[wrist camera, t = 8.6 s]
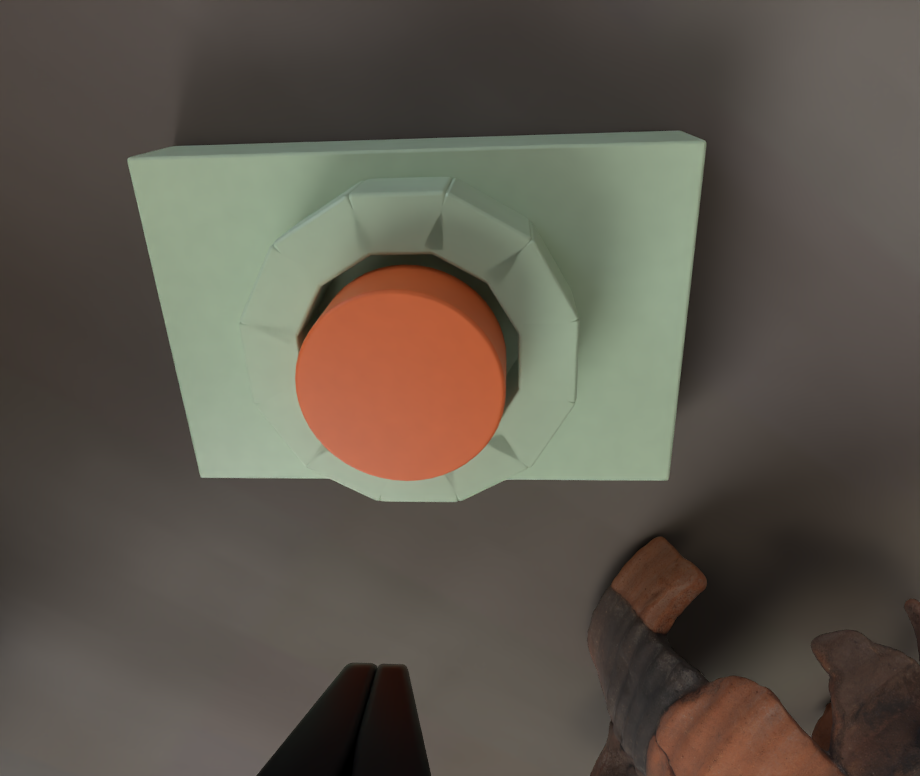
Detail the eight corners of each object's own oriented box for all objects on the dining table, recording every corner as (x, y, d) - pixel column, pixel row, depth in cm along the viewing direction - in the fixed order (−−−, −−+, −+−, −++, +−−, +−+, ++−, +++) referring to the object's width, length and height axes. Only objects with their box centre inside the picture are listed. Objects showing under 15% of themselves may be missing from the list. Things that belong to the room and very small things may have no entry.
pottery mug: (699, 440, 19) (1008, 664, 13) (816, 528, 25) (1068, 711, 19) (451, 749, 21) (619, 1081, 15) (615, 764, 27) (785, 1005, 21)
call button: (328, 439, 15) (308, 482, 14) (305, 264, 14) (279, 290, 12) (507, 439, 15) (506, 483, 14) (505, 261, 13) (505, 288, 12)
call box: (230, 437, 20) (168, 520, 16) (171, 145, 16) (76, 169, 13) (652, 437, 19) (686, 526, 15) (682, 130, 16) (735, 150, 12)
